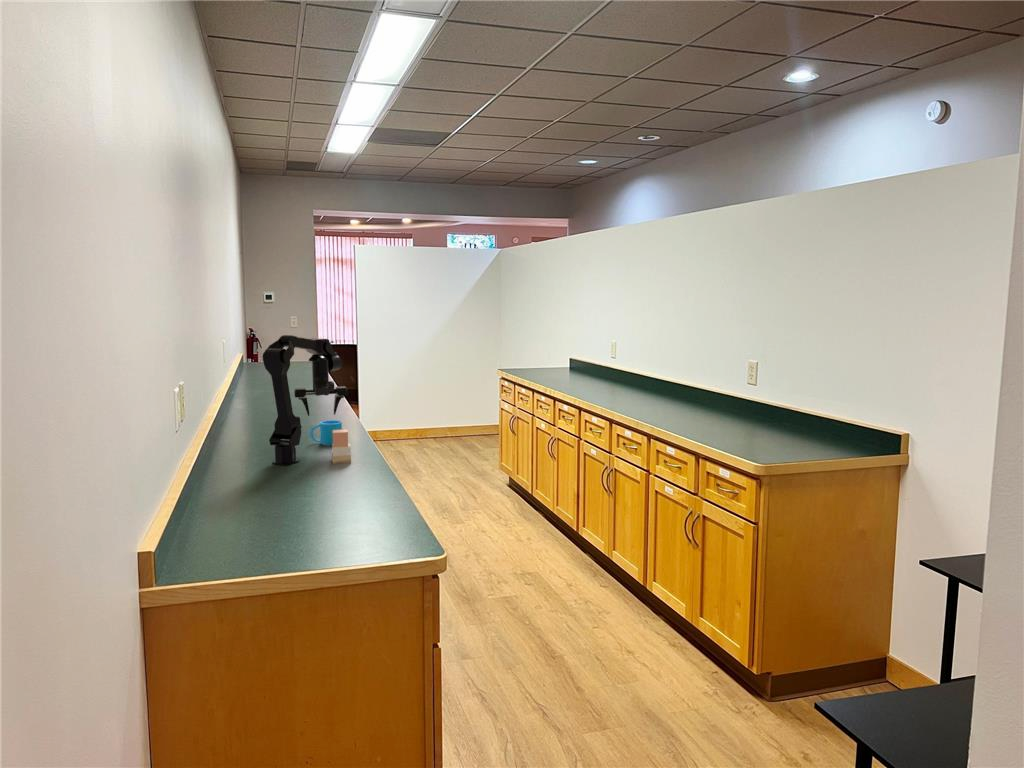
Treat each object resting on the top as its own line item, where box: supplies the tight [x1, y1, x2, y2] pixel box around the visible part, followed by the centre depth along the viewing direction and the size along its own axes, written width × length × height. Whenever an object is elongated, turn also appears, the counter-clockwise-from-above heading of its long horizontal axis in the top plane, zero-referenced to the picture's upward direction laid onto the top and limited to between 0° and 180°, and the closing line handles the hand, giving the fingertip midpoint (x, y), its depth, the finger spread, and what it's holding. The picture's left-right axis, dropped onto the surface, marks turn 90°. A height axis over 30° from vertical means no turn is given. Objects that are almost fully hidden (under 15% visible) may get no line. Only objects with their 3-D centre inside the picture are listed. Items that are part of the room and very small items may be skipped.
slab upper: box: [331, 442, 352, 456], centre depth 257 cm, size 6×6×3 cm
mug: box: [309, 420, 343, 446], centre depth 287 cm, size 12×8×8 cm
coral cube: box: [333, 428, 349, 447], centre depth 256 cm, size 5×5×5 cm
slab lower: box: [331, 451, 352, 465], centre depth 257 cm, size 6×6×3 cm
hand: (321, 415), depth 274 cm, fingers open, 9 cm apart
